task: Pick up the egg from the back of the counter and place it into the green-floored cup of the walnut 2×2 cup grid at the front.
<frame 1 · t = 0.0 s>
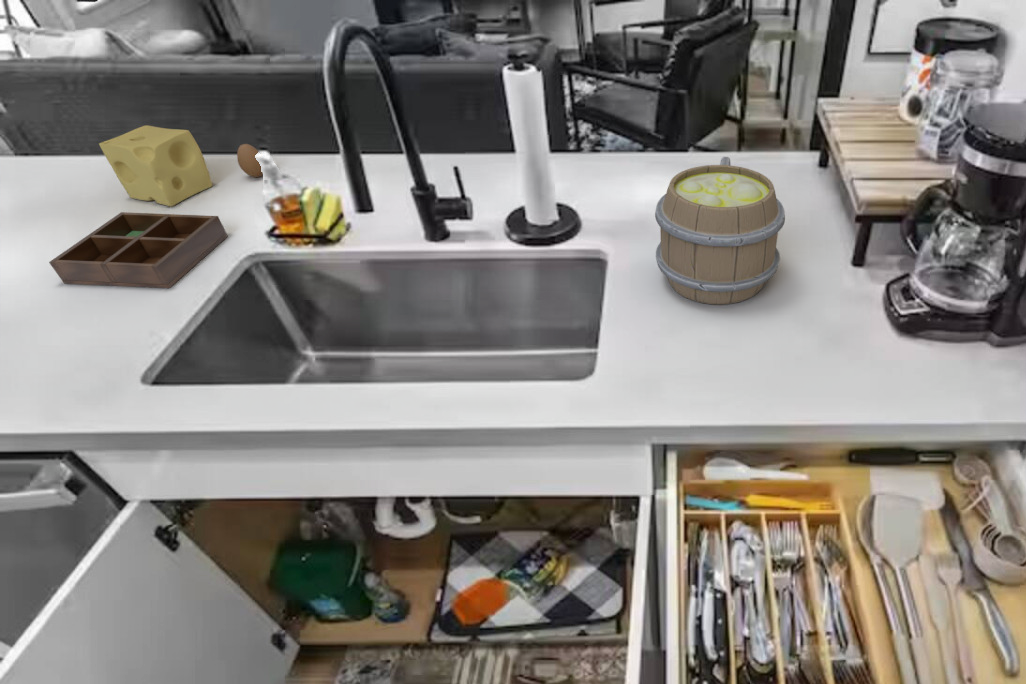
mug: (717, 270, 106), on the worktop
cheese: (173, 192, 123), on the worktop
egg: (258, 177, 129), on the worktop
grid: (150, 258, 106), on the worktop
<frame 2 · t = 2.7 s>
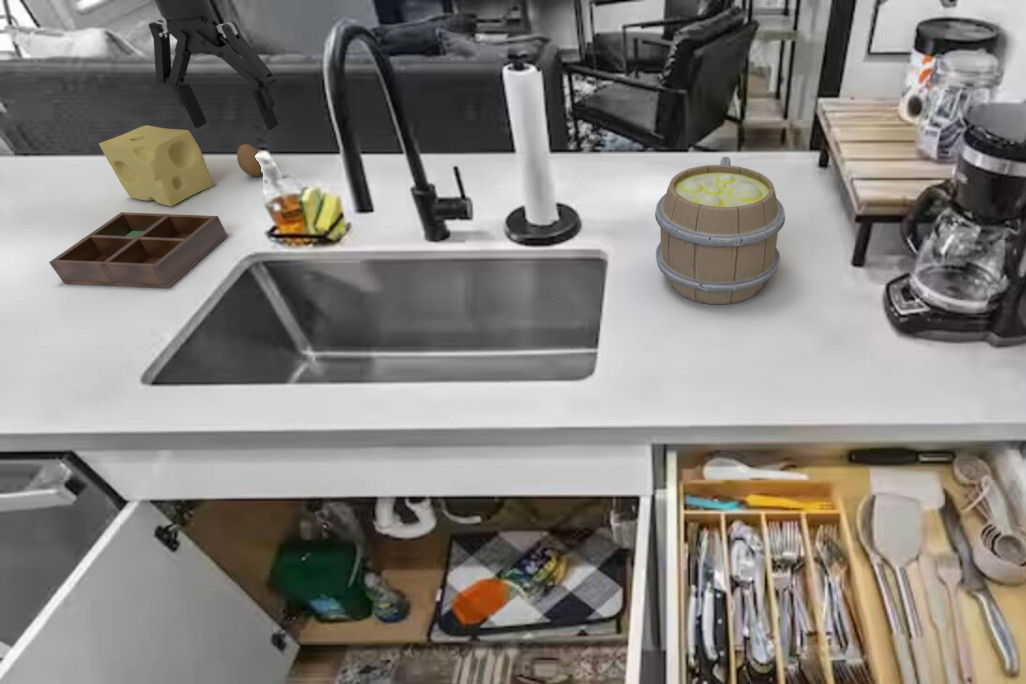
hand: (237, 126, 122), 9 cm above the worktop, tool pointing down, fingers open, 13 cm apart
nothing on the worktop moved.
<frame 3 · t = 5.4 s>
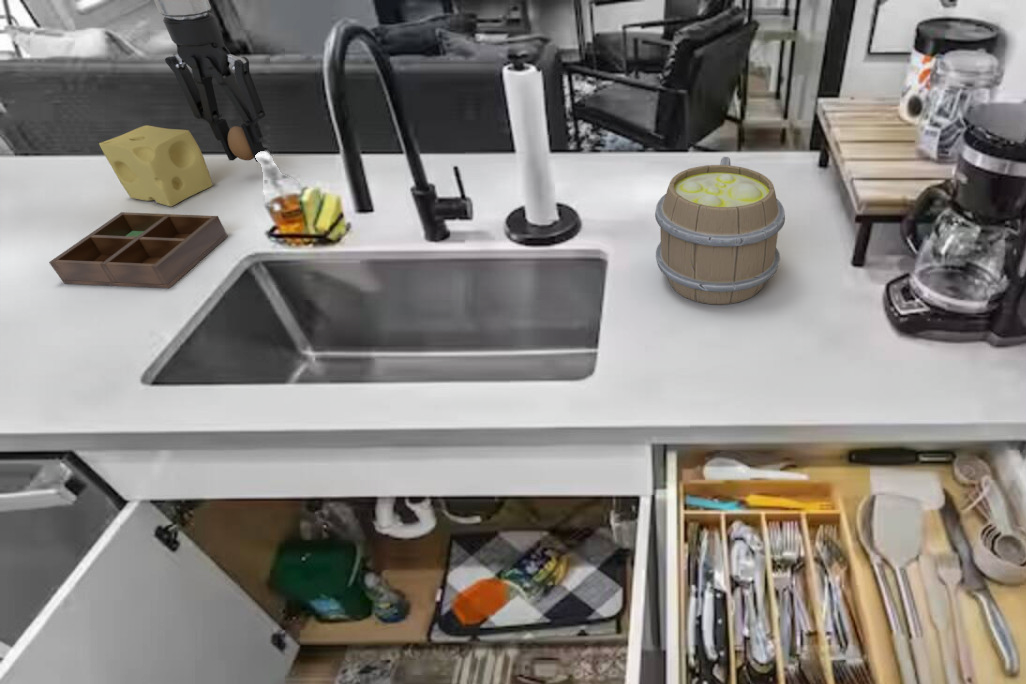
hand: (248, 158, 126), 4 cm above the worktop, tool pointing down, fingers closed on egg, 4 cm apart
egg: (249, 160, 126), point 3 cm above the worktop, touching gripper
everything else where it was.
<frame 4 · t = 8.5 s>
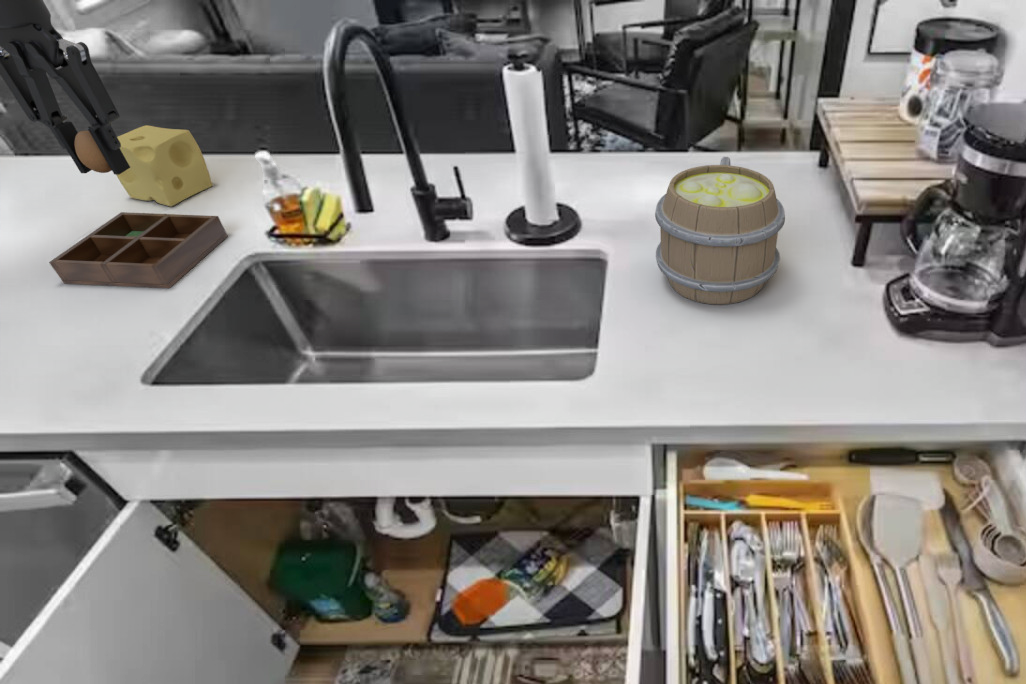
hand: (105, 170, 101), 12 cm above the worktop, tool pointing down, fingers closed on egg, 4 cm apart
egg: (107, 173, 102), point 11 cm above the worktop, touching gripper
everything else where it was.
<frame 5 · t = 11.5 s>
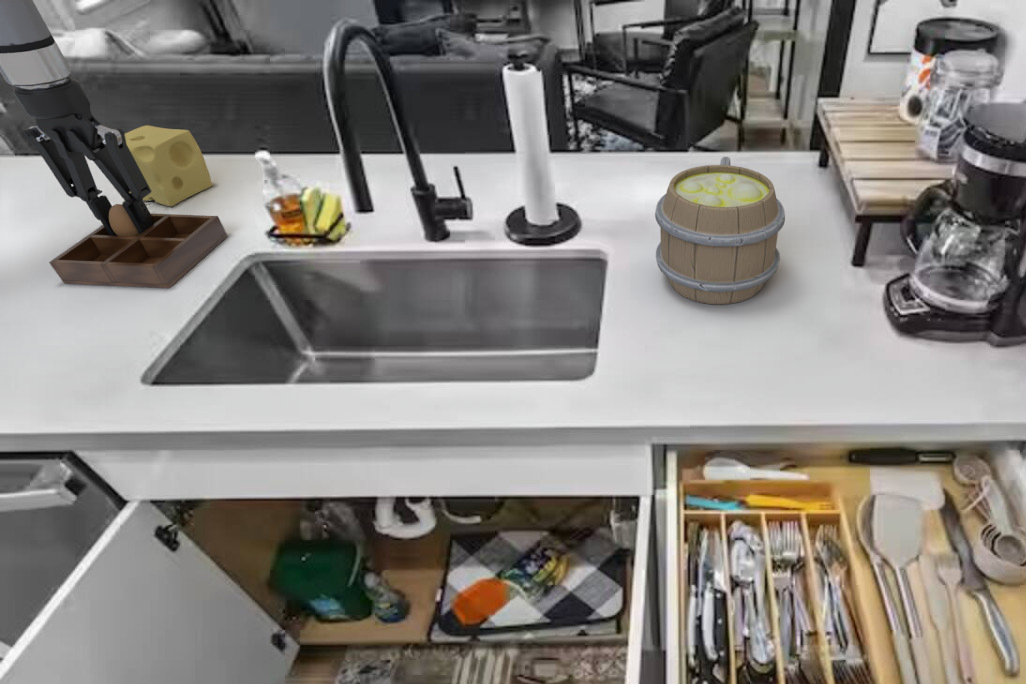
hand: (136, 238, 108), 1 cm above the worktop, tool pointing down, fingers closed on egg, 4 cm apart
egg: (138, 241, 108), point 1 cm above the worktop, touching gripper
everything else where it was.
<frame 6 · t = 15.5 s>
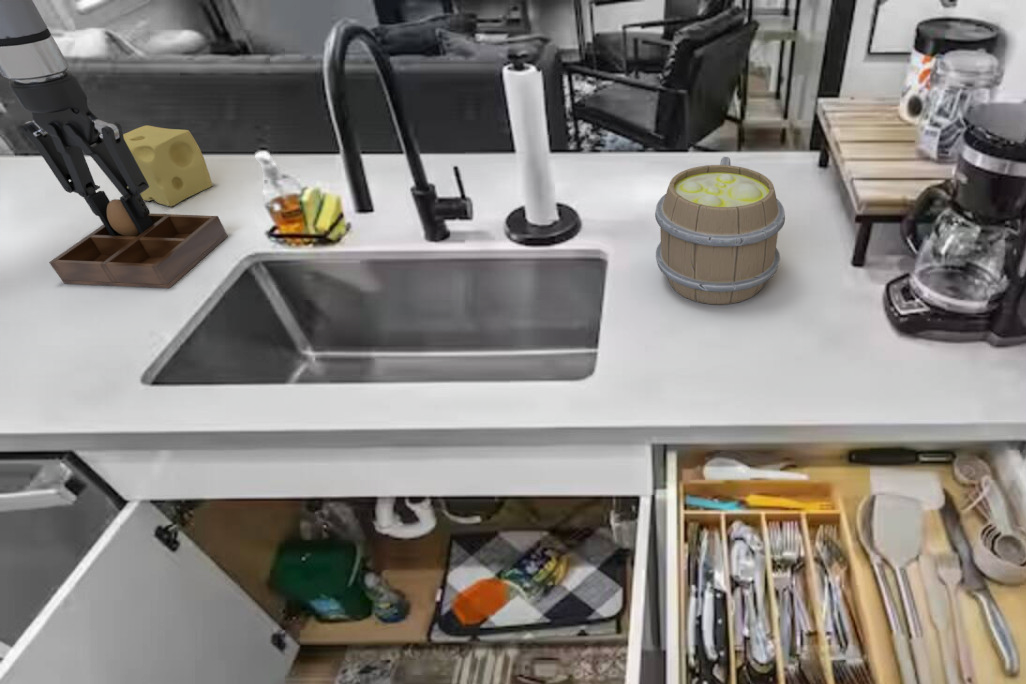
hand: (135, 234, 107), 2 cm above the worktop, tool pointing down, fingers closed on egg, 4 cm apart
egg: (136, 237, 108), point 2 cm above the worktop, touching gripper
everything else where it was.
when the fingers open (4 cm above the worktop, at t = 19.2 s): egg drops 3 cm, resting on grid.
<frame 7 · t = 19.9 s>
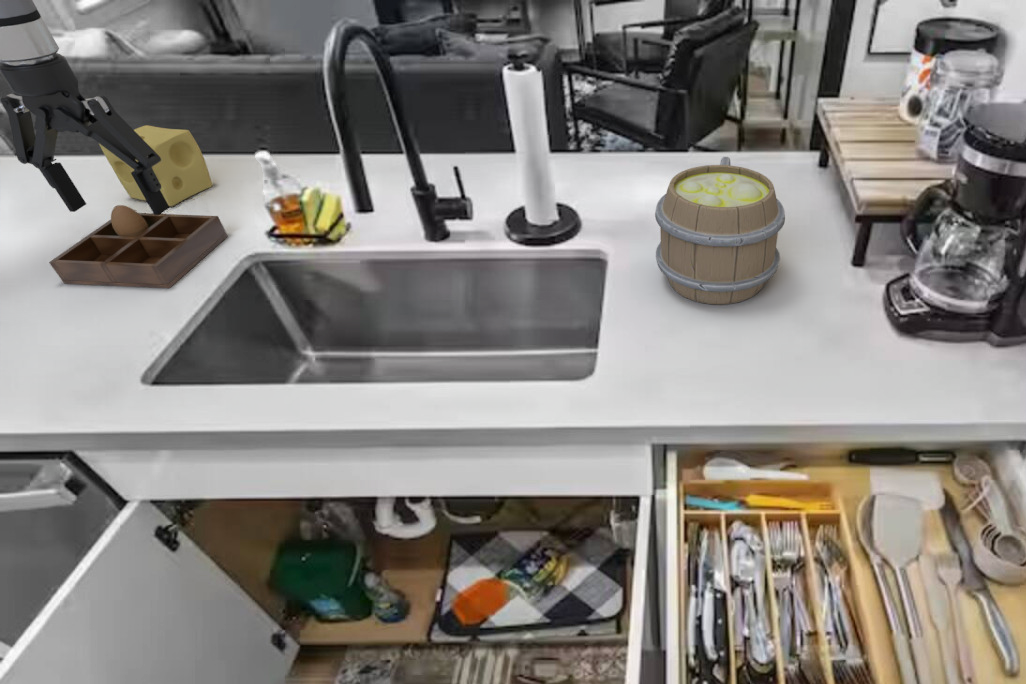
hand: (120, 209, 104), 6 cm above the worktop, tool pointing down, fingers open, 13 cm apart
egg: (140, 242, 108), point 1 cm above the worktop, touching grid
everything else where it was.
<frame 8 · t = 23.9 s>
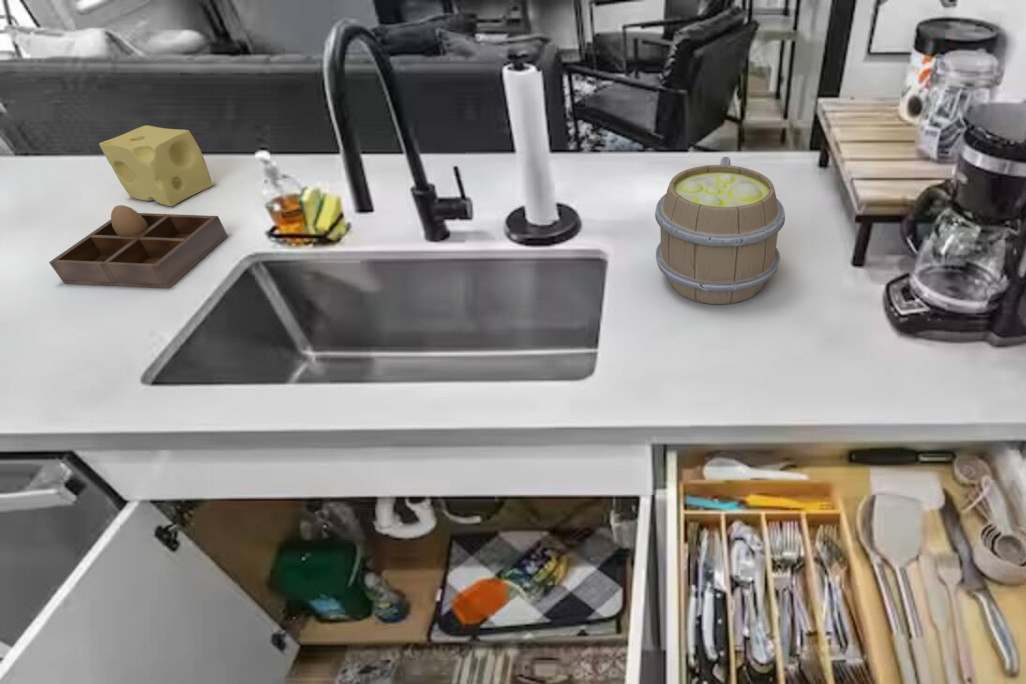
nothing on the worktop moved.
at the end: egg 0.1 cm from the target spot in the grid, point 0.6 cm above the grid's base; the gripper is holding nothing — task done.
